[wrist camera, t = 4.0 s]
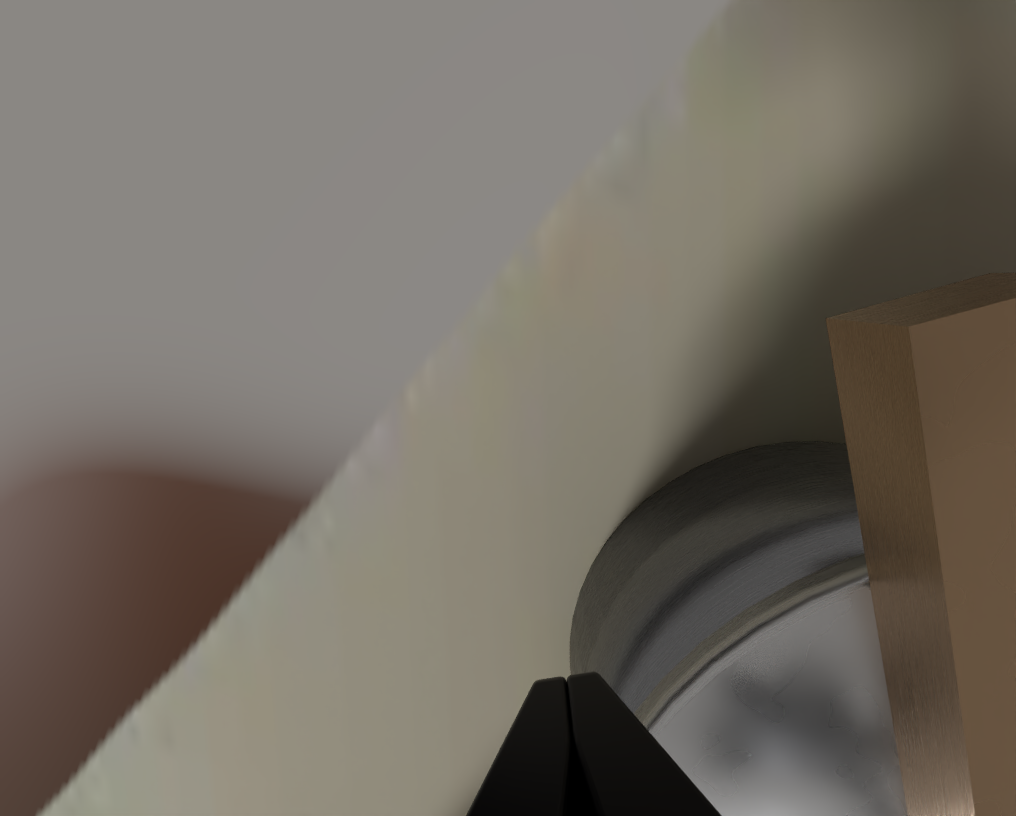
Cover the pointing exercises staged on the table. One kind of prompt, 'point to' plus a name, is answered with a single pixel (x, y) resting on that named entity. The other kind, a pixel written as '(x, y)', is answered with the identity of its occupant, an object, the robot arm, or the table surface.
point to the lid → (882, 595)
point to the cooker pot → (710, 557)
